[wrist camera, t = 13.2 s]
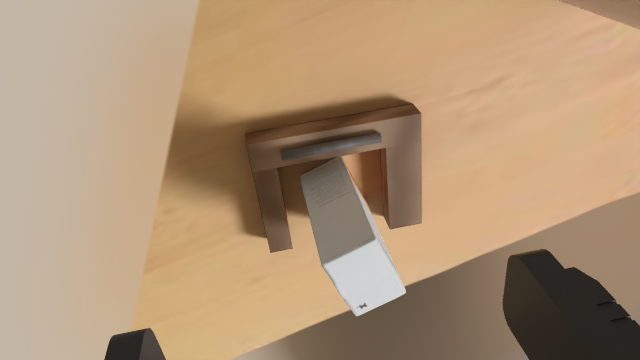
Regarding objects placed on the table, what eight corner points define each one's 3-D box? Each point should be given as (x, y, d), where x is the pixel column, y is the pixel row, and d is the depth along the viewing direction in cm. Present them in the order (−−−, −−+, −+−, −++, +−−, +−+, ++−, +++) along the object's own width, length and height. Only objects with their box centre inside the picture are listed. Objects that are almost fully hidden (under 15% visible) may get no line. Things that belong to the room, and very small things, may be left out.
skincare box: (368, 201, 44) (409, 295, 34) (326, 222, 45) (355, 320, 35) (341, 151, 41) (377, 238, 31) (296, 174, 42) (318, 266, 31)
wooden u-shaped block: (413, 103, 40) (424, 117, 37) (414, 210, 46) (424, 228, 43) (245, 133, 39) (246, 149, 36) (268, 239, 45) (271, 258, 42)
